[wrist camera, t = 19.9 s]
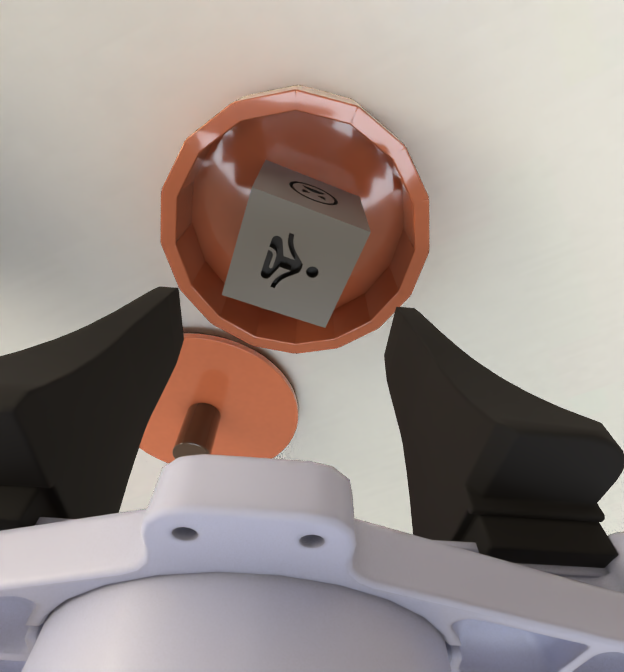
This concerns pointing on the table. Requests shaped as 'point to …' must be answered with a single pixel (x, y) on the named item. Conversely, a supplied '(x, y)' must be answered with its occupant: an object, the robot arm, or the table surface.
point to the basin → (313, 161)
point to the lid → (221, 404)
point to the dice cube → (296, 245)
